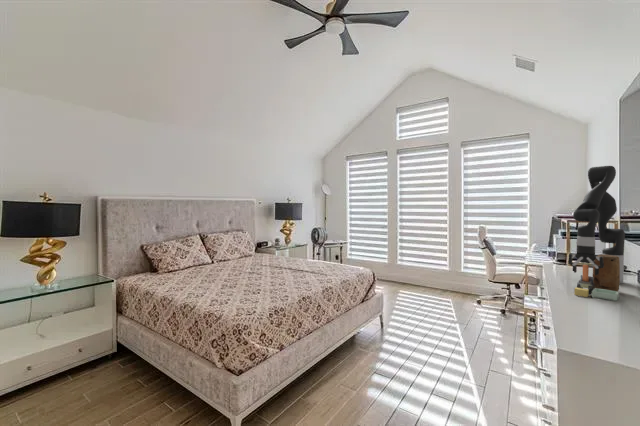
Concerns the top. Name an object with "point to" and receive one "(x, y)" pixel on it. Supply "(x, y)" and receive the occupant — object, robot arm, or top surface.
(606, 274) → the brown rounded block
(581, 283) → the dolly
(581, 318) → the top surface
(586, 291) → the block
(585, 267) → the pin
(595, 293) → the tray
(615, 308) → the top surface
